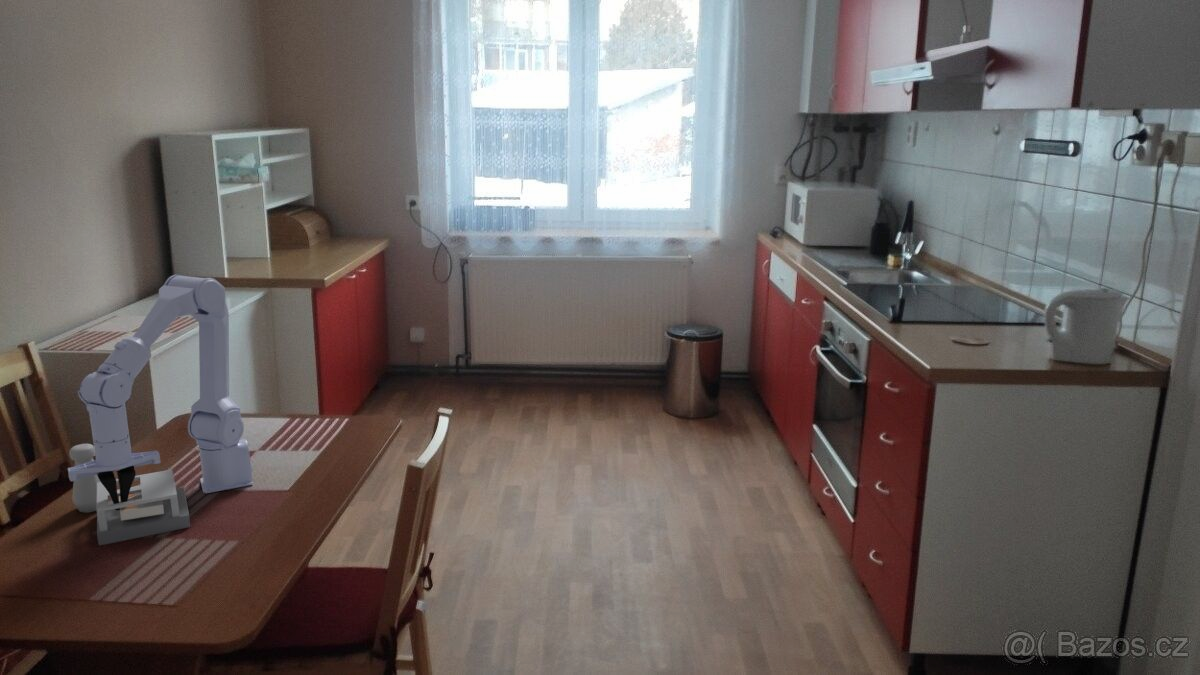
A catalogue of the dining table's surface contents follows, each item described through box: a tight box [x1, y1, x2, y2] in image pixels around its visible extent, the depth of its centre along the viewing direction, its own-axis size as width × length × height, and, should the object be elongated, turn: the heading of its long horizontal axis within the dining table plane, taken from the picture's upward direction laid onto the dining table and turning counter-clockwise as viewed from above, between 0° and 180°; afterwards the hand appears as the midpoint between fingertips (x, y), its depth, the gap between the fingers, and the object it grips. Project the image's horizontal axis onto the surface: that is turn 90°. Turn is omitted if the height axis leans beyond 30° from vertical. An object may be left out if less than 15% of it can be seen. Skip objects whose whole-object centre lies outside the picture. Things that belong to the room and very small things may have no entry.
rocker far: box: [118, 483, 142, 502], centre depth 169 cm, size 7×5×2 cm
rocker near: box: [120, 498, 164, 521], centre depth 163 cm, size 7×5×2 cm
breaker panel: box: [96, 469, 191, 546], centre depth 166 cm, size 15×14×7 cm
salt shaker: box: [69, 443, 100, 514], centre depth 171 cm, size 6×6×13 cm
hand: (120, 507), depth 162 cm, fingers closed
